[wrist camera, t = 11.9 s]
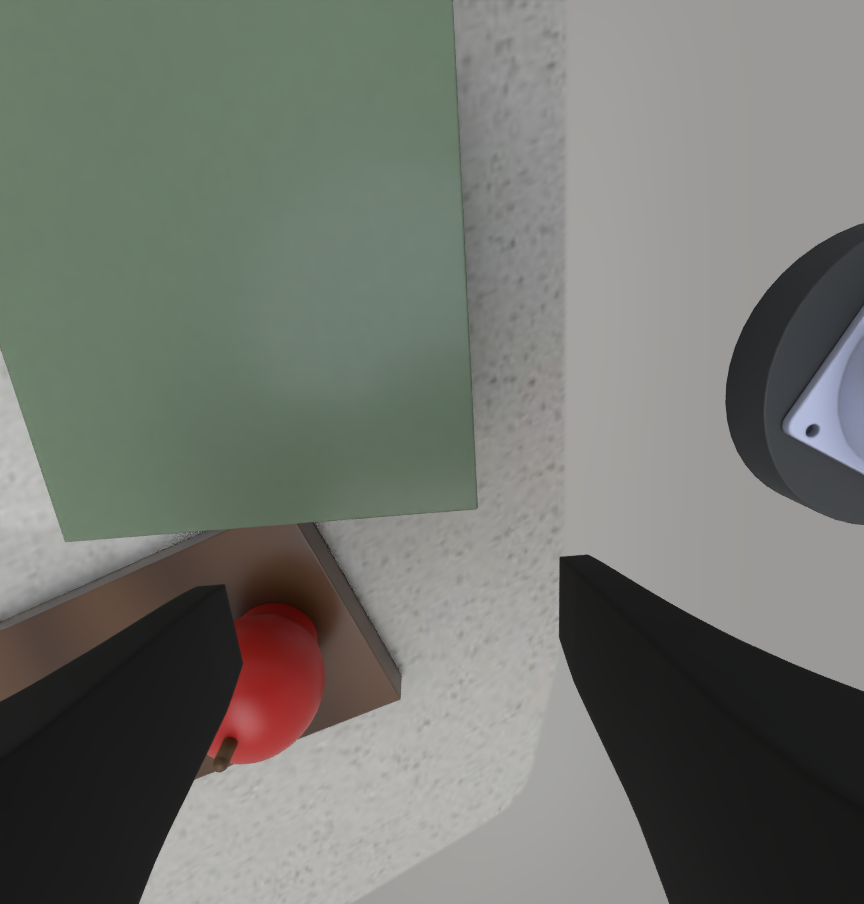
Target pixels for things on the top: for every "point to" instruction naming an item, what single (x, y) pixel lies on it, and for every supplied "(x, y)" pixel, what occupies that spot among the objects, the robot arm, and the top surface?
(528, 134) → the top surface
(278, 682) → the apple
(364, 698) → the board
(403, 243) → the cabinet
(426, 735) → the top surface
